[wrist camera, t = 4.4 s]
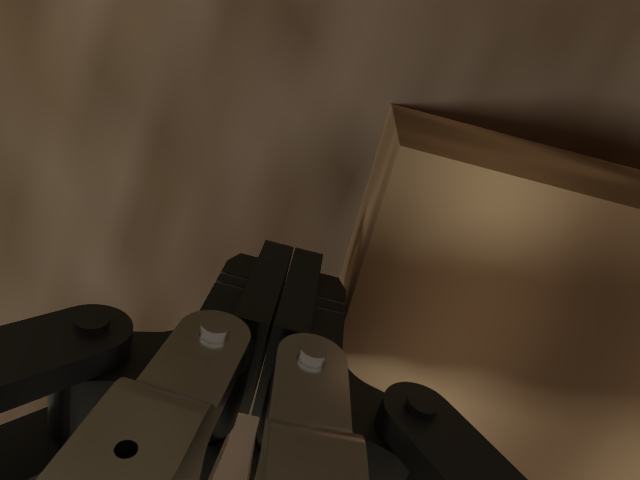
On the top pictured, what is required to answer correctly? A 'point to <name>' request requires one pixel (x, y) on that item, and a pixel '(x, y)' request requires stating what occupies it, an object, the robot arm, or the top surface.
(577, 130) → the top surface
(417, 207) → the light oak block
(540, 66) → the top surface
